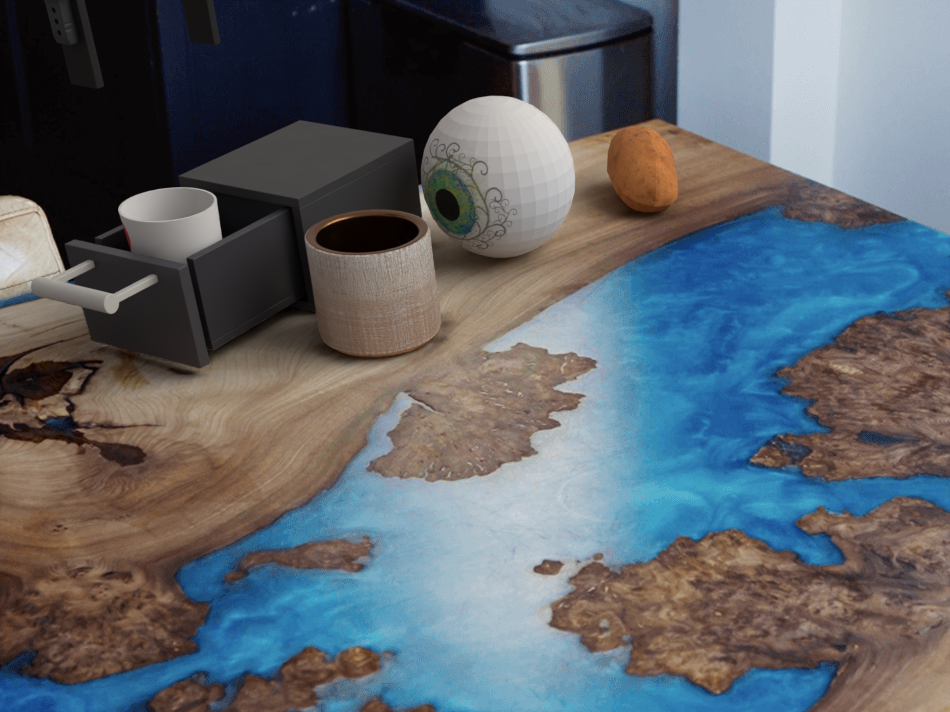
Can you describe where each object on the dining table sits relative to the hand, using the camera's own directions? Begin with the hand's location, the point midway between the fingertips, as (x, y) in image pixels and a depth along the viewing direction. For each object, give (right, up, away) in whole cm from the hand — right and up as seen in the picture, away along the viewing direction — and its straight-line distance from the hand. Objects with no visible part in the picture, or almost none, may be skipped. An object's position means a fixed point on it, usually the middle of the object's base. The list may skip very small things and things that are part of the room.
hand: (149, 63), depth 115 cm
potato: (+40, +1, +38) cm, 56 cm away
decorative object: (+26, -8, +27) cm, 39 cm away
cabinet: (+8, -10, +25) cm, 28 cm away
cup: (0, -18, +12) cm, 21 cm away
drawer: (-1, -19, +11) cm, 22 cm away
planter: (+17, -19, +13) cm, 28 cm away
